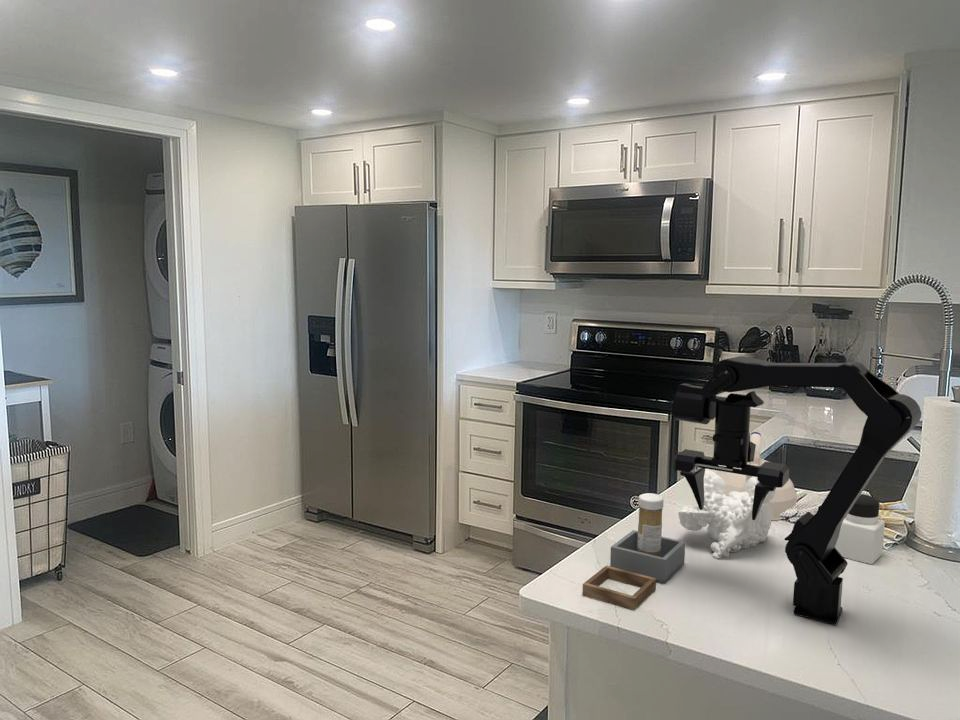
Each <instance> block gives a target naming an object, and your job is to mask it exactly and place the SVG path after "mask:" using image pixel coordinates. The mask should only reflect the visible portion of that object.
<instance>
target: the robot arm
mask: <svg viewBox="0 0 960 720" xmlns="http://www.w3.org/2000/svg"><path fill="white" fill-rule="evenodd" d="M766 387H790V388H791V387H798V388H799V387H801V388H802V387H803V388H808V387H809V388H841V389H842V390H843V391H844V392H845V393H846V394H847V395H848V396H849V398H850V399H851V400H852V401H853V403H854V404H855V405H856V406H857V408H858V409H859V410H860V411H861V412H862V413H863V414H865V416H867V417H866V420H865V423H864V426H863V428H862V431H861V436H860V440H859V441H860V442H859V443H858V446H857V448H856V449H855V452H853V454H852V456H851V457H850V459H849V460H848V462H847V464H845V467H844V468H843V470H842V471H841V473H840V475H839V477H838V478H837V480H835V483H834V484H833V486H832V487H831V489H830V491H829V492H828V494H827V495H826V497H825V498H824V500H823V502H822V503H821V505H820V507H819V508H818V510H817V511H816V512H815V514H812V513H811V512H810V511H806V513H805V514H803V515H802V516H801V517H798V519H796V520H795V523H794V525H793V527H792V530H791V532H790V533H789V534H788V535H786V537H785V538H784V541H787V542H786V544H785V547H784V552H785V555H786V557H787V560H788V562H790V564H792V566H793V570H794V573H795V576H796V580H795V581H794V583H793V594H792V595H793V596H792V597H793V598H792V606H793V607H794V609H793V614H794V615H796V616H800V617H803V618H808V619H811V620H816V621H820V622H824V623H827V624H831V625H838V622H839V620H840V617H841V615H842V613H843V609H844V608H843V607H842V594H843V582H844V580H843V579H844V578H843V577H841V576H840V575H842V574H843V573H844V572H845V570H846V567H847V566H848V561H847V560H846V558H844V557H843V556H842V555H841V554H840V553H839V552H838V550H837V549H836V548H835V545H836V542H837V540H838V537H839V533H840V529H841V525H842V522H843V520H844V519H845V517H846V516H847V514H848V513H849V511H850V510H851V508H852V507H853V505H854V504H855V502H856V501H857V499H858V497H859V496H860V494H863V493H862V492H863V491H864V490H865V488H866V487H867V485H868V484H869V482H870V481H871V480H872V478H873V476H874V474H875V473H876V472H877V470H878V469H879V467H880V466H881V464H882V462H883V460H884V459H885V458H886V456H887V455H888V454H889V453H890V452H891V451H892V449H894V448H895V447H896V446H897V445H898V444H899V443H900V442H901V441H902V440H903V439H904V438H905V437H906V436H907V435H908V434H909V433H910V432H911V431H912V430H913V429H914V428H916V426H917V425H918V424H919V422H920V421H921V418H922V410H921V408H920V405H919V404H918V402H917V401H916V400H915V399H914V398H912V397H911V396H909V395H907V394H901V393H900V392H898V391H897V390H896V389H894V387H893V386H891V385H890V384H888V383H887V382H885V381H884V380H882V379H881V378H879V377H878V376H877V375H876V374H874V373H872V372H871V371H870V370H869V369H868V368H867V367H866V366H865V365H864V364H862V363H860V362H859V361H854V360H853V361H849V362H848V361H847V362H772V361H768V360H763V359H761V358H756V357H750V356H744V355H743V356H742V355H739V356H735V357H730V358H724V359H721V360H719V361H718V363H717V364H716V365H715V366H714V369H713V372H712V376H711V377H710V378H709V380H708V381H707V382H706V383H705V384H704V385H703V386H701V385H693V384H690V383H685V382H684V383H681V384H678V390H677V391H676V393H675V395H674V398H673V401H672V403H671V415H672V417H673V419H674V420H675V421H681V422H682V421H683V422H689V423H694V424H699V425H708V424H709V423H710V422H711V421H713V420H714V434H713V435H712V442H713V454H712V455H713V456H712V458H709V457H708V458H707V457H706V455H705V453H704V451H700V450H694V449H693V450H692V449H684V450H682V451H680V452H679V453H677V454H676V455H675V456H674V457H673V460H672V461H673V463H672V464H673V465H672V470H674V471H678V472H679V475H680V476H681V477H682V476H683V477H684V478H685V480H686V481H687V483H688V485H689V487H690V489H691V491H692V493H693V496H694V498H695V502H696V504H697V507H699V509H700V510H702V509H703V508H704V507H705V505H704V474H705V469H708V470H710V471H717V472H718V471H724V472H730V473H736V474H742V475H748V476H754V477H757V480H758V481H759V483H758V484H757V485H756V486H755V492H754V500H753V508H752V520H755V519H756V518H757V515H758V513H759V511H760V508H761V506H762V504H763V501H764V499H765V497H766V495H767V494H768V492H769V491H774V490H775V489H776V488H777V487H778V488H779V487H783V486H784V485H785V484H786V483H787V481H788V480H789V479H790V469H789V467H788V466H787V464H785V463H779V462H772V461H769V462H764V463H763V464H762V465H761V466H754V465H748V464H747V462H751V461H752V462H753V461H754V455H755V448H756V444H754V443H753V442H750V441H751V433H750V424H751V410H752V409H751V408H758V407H760V406H763V405H764V403H765V402H764V400H763V399H762V398H760V396H758V395H757V394H756V392H755V390H754V389H759V388H766ZM748 390H753V391H750V392H747V394H740V393H735V392H742V391H748ZM723 393H729V394H728V395H727V396H718V395H720V394H723ZM723 466H726V467H723ZM733 467H734V468H733ZM736 468H741V469H736Z"/></svg>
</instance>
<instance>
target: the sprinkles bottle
mask: <svg viewBox="0 0 960 720" xmlns="http://www.w3.org/2000/svg"><path fill="white" fill-rule="evenodd" d="M638 508H639V509H638V511H639V512H638V523H637V525H638V527H637V531H638V543H637V547H638V552H641V553H646V554H650V555H654V556H658V557H660V550H661V536H662V534H663V533H662V532H663V531H662V528H663V523H662V521H663V518H662V517H663V510H664V509H663V508H664V497H663V496H662V495H660V494H657V493H650V492H649V493H642V494H640V495H639V496H638Z"/></svg>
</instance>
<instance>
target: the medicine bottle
mask: <svg viewBox="0 0 960 720" xmlns="http://www.w3.org/2000/svg"><path fill="white" fill-rule="evenodd" d="M879 513H880V501H879V500H878V499H877V498H876V497H874V496H871V495H868V494H863V493H861V494H860V496H859V497H858V499H857V501H856V502H855V504H854V505H853V507H852V508H851V510H850V511H849V513H848V514H847V516H846V517H845V519H844V520H843V522H842V525H841V529H840V533H839V537H838V540H837V542H836V545H835V548H836V549H837V550H838V552H839V553H840V554H841V555H842V556H843V558H844V559H849V560H852V561H856V562H860V563H864V564H868V565H873V564H874V563H875V562H876V561H877V560H878V559H879V558H880V557H881V556H882V554H883V549H884V539H885V538H884V537H885V525H886V522H885V520H883V519H879Z"/></svg>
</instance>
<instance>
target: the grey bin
mask: <svg viewBox="0 0 960 720" xmlns="http://www.w3.org/2000/svg"><path fill="white" fill-rule="evenodd" d="M637 543H638V530H635V529H633V530H631V531H630V532H629V533H627V534H626V535H624V537H622V538H621V539H619V540H618V541H617V542H615V543H614V544H613V545H611V546H610V556H609V557H610V559H609V560H610V561H609V562H610V563H609V566H610V567H614V568H618V569H622V570H626V571H630V572H634V573H637V574H641V575H645V576H649V577H653V578H656V583H659V584H662V585H665V584H666V583H667V582H668V581H669V580H670V579H671V578H672V577H673V576H674V575H675V574H676V573H677V572H678V571H679V570H680V569H681V568H682V567H683V566H684V565H685V559H686V558H685V556H686V541H684V540H678V539H675V538H670V537H665V536H662V535H661V550H660V557H658V556H654V555H650V554H646V553H641V552H638V547H637Z"/></svg>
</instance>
